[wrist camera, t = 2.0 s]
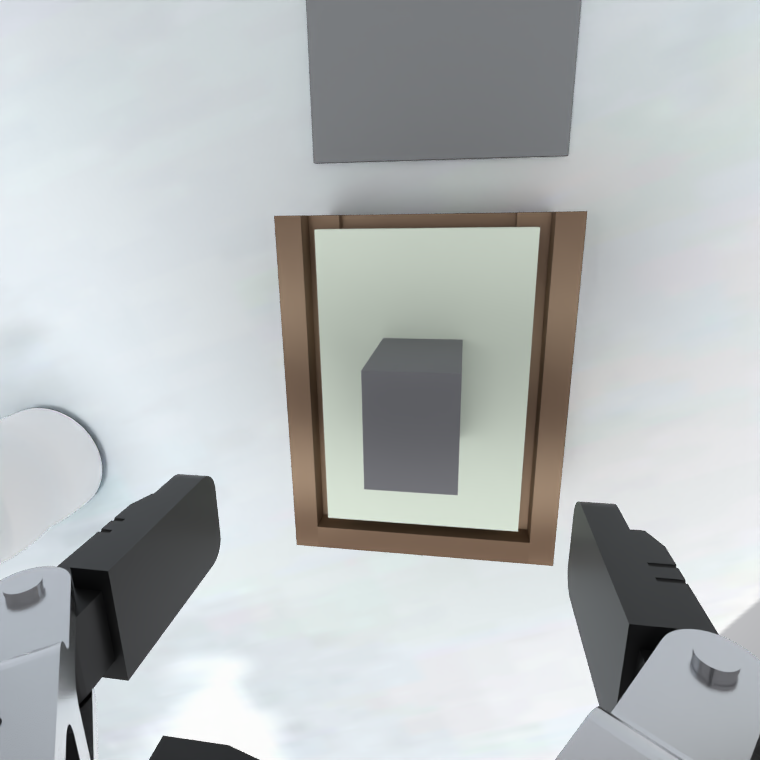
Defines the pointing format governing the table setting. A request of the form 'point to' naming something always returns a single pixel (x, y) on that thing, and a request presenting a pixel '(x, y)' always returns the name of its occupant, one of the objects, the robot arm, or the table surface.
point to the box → (544, 403)
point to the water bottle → (42, 475)
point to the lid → (426, 372)
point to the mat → (441, 78)
